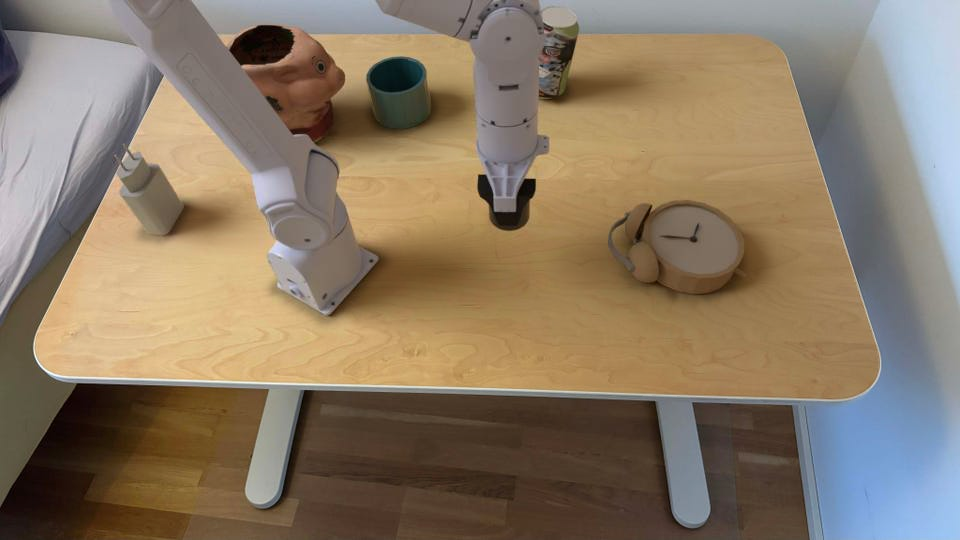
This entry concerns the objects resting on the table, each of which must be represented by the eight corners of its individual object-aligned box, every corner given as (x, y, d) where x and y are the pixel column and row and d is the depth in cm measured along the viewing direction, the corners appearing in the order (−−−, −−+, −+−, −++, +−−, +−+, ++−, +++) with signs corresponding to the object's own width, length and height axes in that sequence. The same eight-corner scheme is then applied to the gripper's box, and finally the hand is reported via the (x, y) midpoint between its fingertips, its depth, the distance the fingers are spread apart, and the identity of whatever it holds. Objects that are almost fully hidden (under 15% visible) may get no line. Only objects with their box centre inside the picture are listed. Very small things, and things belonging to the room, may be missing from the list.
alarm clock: (755, 282, 71) (618, 263, 70) (734, 307, 75) (604, 289, 74) (739, 204, 77) (613, 185, 76) (721, 230, 81) (601, 212, 80)
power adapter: (185, 204, 86) (143, 134, 76) (166, 236, 83) (120, 167, 73) (164, 201, 86) (119, 131, 77) (144, 233, 83) (94, 165, 74)
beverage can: (516, 85, 97) (515, 10, 87) (560, 70, 98) (564, -5, 88) (536, 110, 93) (538, 36, 83) (582, 94, 95) (589, 19, 85)
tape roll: (516, 237, 71) (515, 216, 68) (481, 220, 72) (480, 200, 69) (537, 210, 73) (537, 189, 70) (503, 195, 74) (502, 174, 72)
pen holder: (408, 136, 91) (402, 102, 86) (362, 116, 94) (353, 82, 89) (442, 102, 95) (438, 67, 90) (397, 84, 98) (390, 49, 93)
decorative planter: (209, 159, 91) (164, 75, 79) (229, 101, 98) (191, 16, 87) (353, 154, 90) (329, 69, 78) (363, 96, 97) (342, 9, 86)
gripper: (551, 163, 56) (546, 260, 66) (550, 56, 64) (546, 158, 75) (467, 162, 56) (476, 259, 67) (478, 56, 65) (484, 157, 76)
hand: (508, 206), depth 71 cm, fingers closed on tape roll, 4 cm apart
